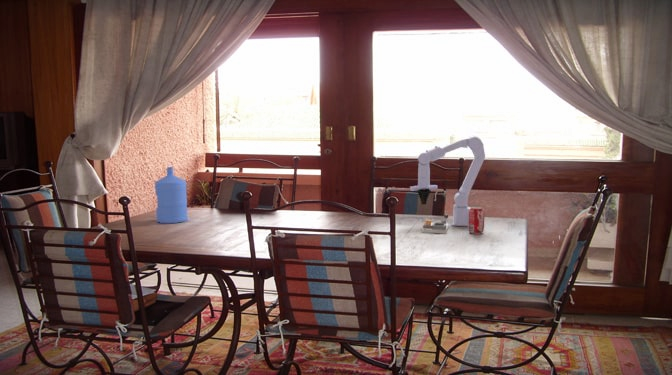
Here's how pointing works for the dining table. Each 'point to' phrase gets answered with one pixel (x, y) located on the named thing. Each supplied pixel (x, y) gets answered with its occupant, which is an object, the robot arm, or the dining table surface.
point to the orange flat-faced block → (428, 222)
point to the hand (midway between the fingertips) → (423, 204)
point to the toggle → (445, 217)
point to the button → (439, 224)
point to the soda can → (476, 220)
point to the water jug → (171, 198)
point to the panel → (435, 228)
